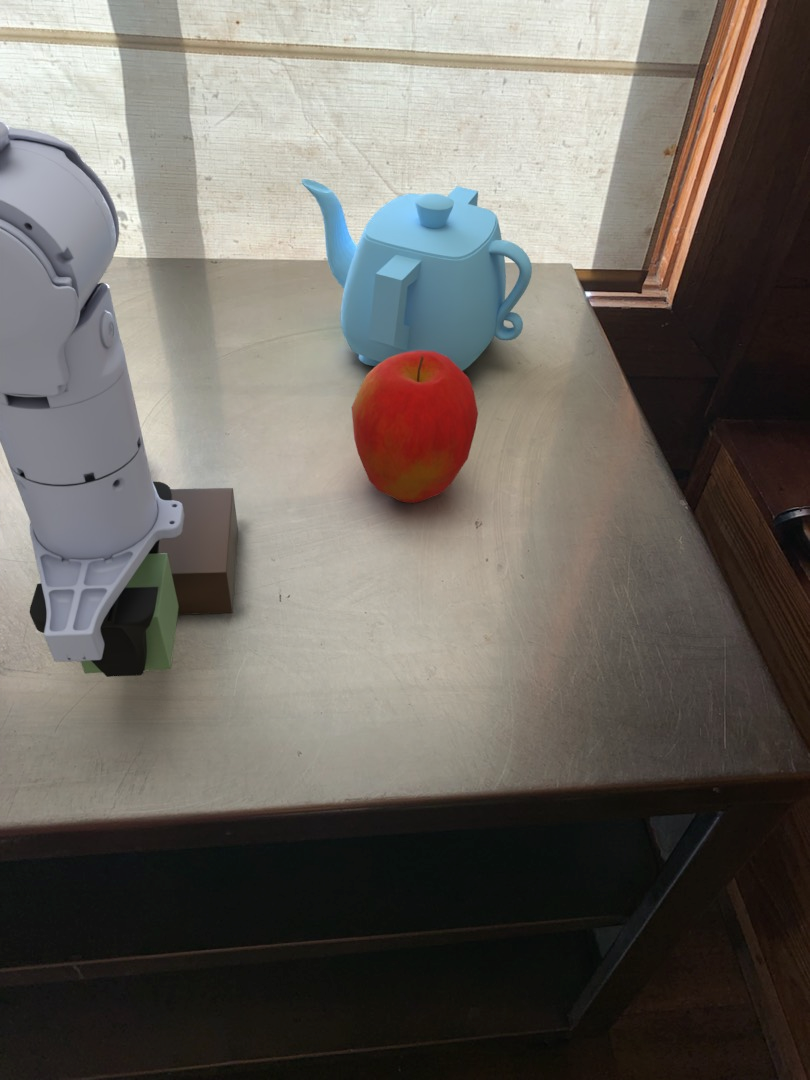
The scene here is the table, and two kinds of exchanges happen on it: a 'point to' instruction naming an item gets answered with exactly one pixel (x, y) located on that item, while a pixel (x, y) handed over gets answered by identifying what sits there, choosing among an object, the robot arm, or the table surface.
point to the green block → (155, 613)
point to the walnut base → (204, 551)
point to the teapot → (423, 276)
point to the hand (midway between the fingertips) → (131, 633)
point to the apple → (414, 424)
